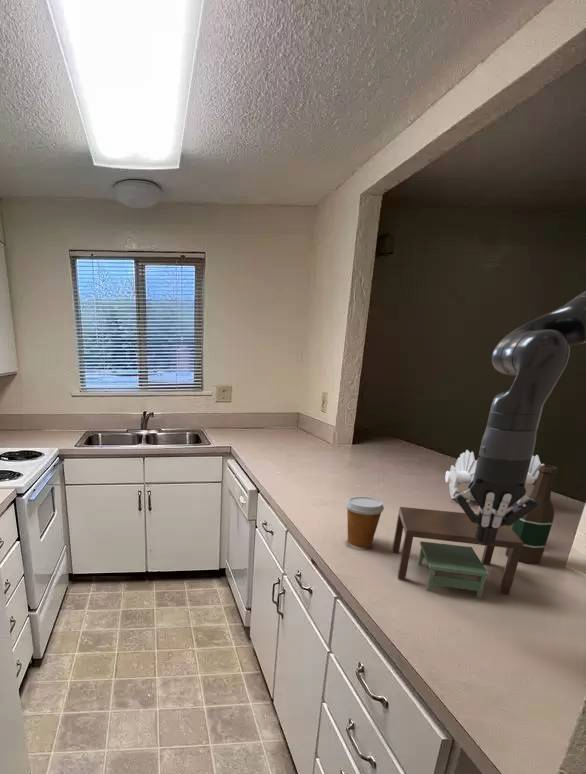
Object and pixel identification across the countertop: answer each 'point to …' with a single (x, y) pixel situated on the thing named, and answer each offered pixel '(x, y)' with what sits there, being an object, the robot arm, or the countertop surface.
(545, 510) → the beer bottle
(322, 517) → the countertop surface
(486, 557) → the side table
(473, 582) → the stool
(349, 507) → the disposable coffee cup
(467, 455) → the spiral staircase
